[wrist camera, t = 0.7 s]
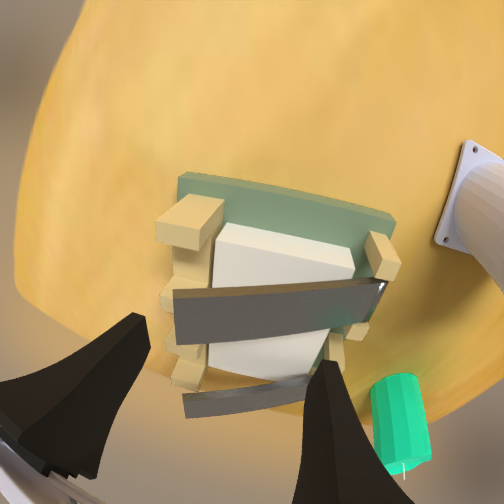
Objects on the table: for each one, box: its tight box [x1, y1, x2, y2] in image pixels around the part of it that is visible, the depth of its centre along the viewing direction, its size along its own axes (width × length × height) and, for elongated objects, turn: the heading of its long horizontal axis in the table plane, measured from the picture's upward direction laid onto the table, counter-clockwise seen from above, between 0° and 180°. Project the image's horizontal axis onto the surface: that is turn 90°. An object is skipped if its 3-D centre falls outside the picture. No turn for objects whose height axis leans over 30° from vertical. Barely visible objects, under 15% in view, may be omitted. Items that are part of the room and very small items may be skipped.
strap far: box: [182, 375, 313, 418], centre depth 18 cm, size 11×3×1 cm, turn 83°
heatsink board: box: [155, 172, 402, 392], centre depth 19 cm, size 14×17×6 cm
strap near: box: [172, 277, 388, 345], centre depth 13 cm, size 11×3×1 cm, turn 83°
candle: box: [370, 373, 432, 480], centre depth 20 cm, size 6×6×12 cm
